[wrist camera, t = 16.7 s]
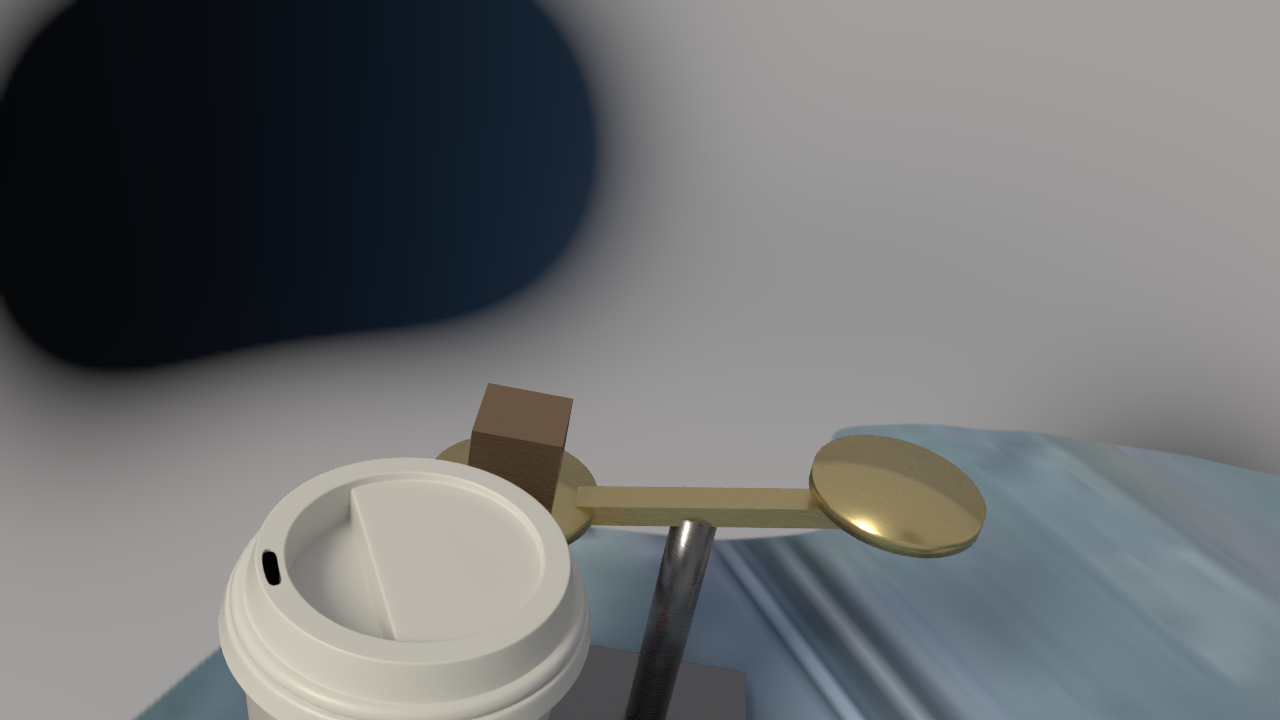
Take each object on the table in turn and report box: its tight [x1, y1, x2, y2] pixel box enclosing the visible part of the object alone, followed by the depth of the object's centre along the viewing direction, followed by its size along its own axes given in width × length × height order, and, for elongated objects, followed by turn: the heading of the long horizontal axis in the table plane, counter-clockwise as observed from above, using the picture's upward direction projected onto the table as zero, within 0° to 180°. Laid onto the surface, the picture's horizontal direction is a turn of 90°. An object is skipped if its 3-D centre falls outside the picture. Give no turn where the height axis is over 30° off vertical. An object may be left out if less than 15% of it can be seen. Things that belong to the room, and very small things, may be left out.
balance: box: [436, 383, 986, 720], centre depth 43 cm, size 19×6×14 cm, turn 85°
